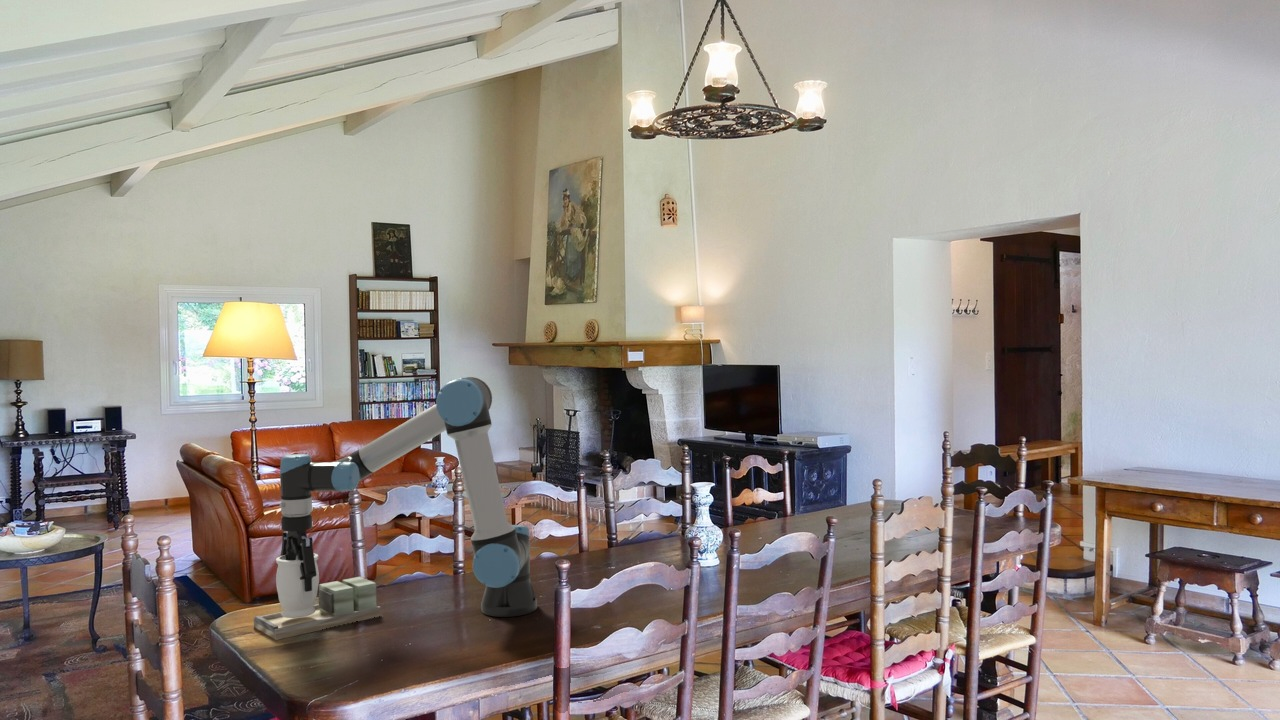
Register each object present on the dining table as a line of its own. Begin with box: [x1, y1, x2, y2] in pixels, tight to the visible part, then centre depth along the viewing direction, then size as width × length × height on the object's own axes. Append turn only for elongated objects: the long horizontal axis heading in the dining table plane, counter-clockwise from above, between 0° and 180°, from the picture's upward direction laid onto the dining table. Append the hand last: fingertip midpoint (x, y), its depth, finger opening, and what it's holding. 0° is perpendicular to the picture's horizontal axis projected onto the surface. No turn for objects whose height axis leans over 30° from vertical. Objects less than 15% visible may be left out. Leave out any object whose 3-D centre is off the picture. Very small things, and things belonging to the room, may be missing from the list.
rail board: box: [253, 576, 382, 641], centre depth 241 cm, size 15×28×8 cm, turn 133°
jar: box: [275, 552, 320, 618], centre depth 237 cm, size 11×10×15 cm
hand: (298, 599), depth 237 cm, fingers closed on jar, 10 cm apart
